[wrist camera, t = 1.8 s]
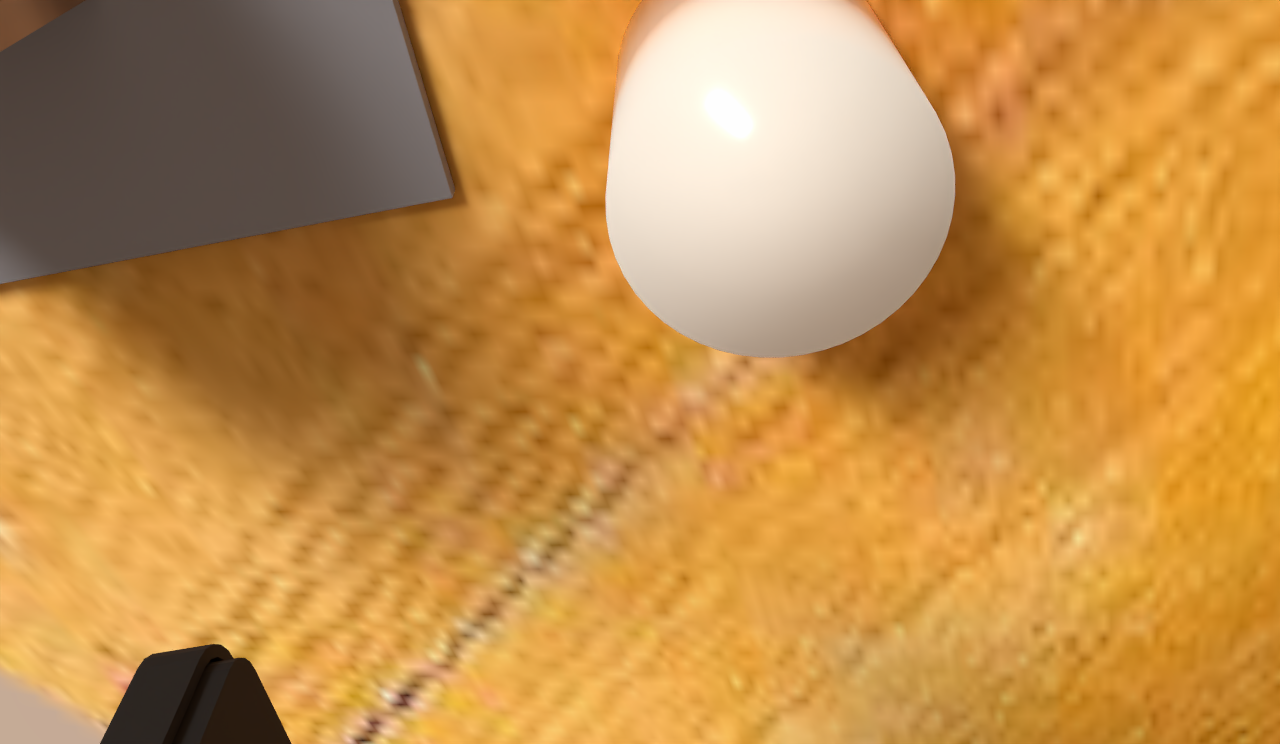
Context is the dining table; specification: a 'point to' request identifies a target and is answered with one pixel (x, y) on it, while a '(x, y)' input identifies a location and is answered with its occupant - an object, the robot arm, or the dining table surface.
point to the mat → (206, 127)
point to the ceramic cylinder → (772, 172)
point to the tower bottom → (28, 17)
